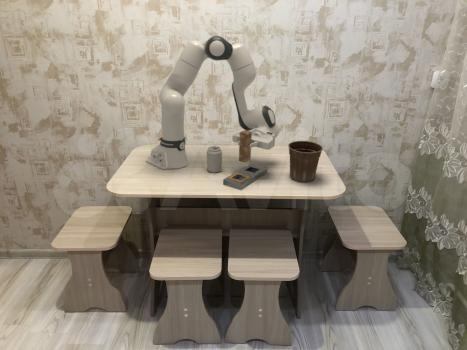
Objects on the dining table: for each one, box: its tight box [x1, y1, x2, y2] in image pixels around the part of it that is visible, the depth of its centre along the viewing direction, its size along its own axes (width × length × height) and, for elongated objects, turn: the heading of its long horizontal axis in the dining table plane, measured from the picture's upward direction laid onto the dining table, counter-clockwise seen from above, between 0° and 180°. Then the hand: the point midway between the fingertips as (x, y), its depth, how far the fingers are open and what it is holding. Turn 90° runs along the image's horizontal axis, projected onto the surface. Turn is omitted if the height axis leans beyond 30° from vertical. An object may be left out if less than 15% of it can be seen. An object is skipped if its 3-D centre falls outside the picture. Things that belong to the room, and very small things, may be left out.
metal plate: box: [222, 163, 268, 191], centre depth 190 cm, size 10×24×3 cm, turn 147°
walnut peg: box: [238, 129, 252, 163], centre depth 183 cm, size 4×4×14 cm
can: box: [206, 145, 223, 174], centre depth 196 cm, size 8×8×12 cm
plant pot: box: [287, 140, 324, 183], centre depth 189 cm, size 16×16×16 cm
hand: (244, 144), depth 182 cm, fingers closed on walnut peg, 4 cm apart
